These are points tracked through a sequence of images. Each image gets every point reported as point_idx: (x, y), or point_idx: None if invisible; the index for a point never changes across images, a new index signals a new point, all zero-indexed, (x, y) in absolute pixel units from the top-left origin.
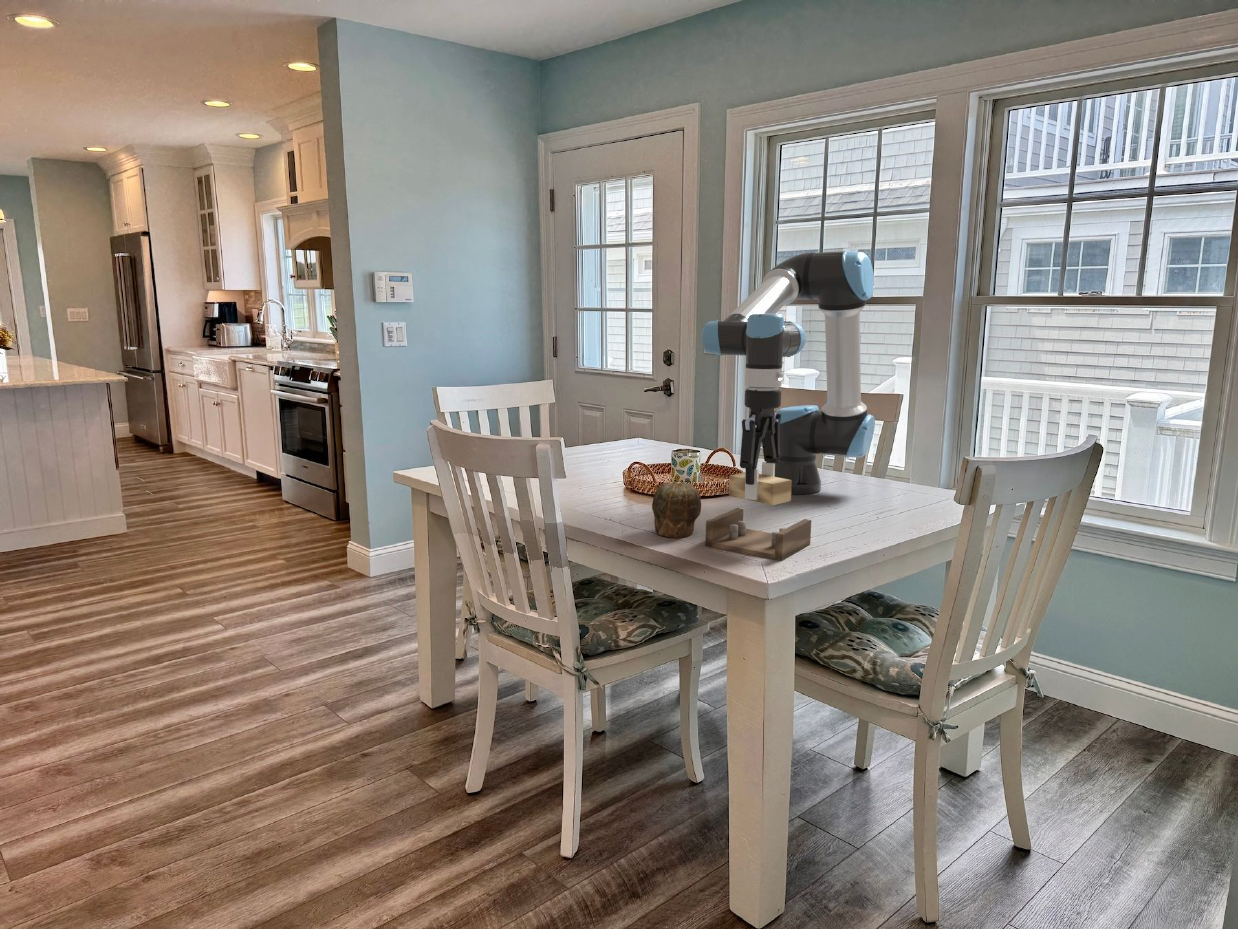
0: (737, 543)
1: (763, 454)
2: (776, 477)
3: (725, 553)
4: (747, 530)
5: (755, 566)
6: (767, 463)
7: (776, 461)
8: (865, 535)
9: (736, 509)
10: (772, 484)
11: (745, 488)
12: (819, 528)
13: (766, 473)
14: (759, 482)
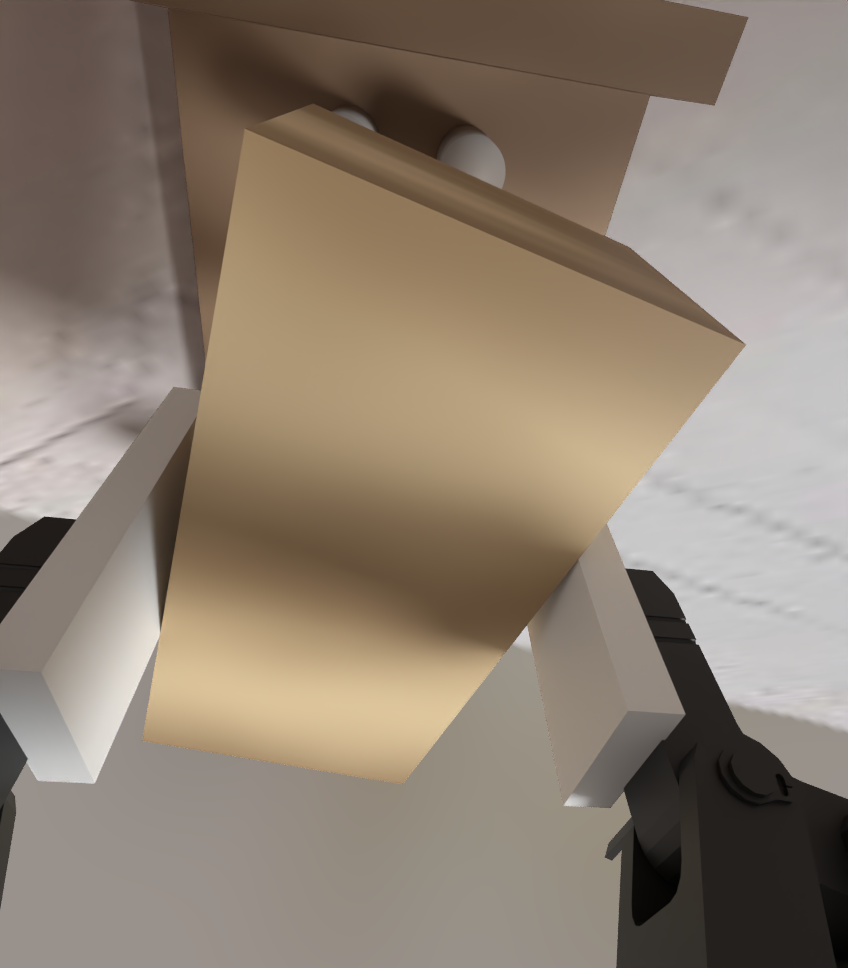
0: None
1: (702, 889)
2: (454, 699)
3: (127, 174)
4: (593, 156)
5: (67, 396)
6: (594, 759)
7: (614, 852)
8: (715, 611)
9: (678, 38)
10: (145, 731)
11: (130, 453)
12: (806, 466)
13: (561, 622)
14: (163, 632)
